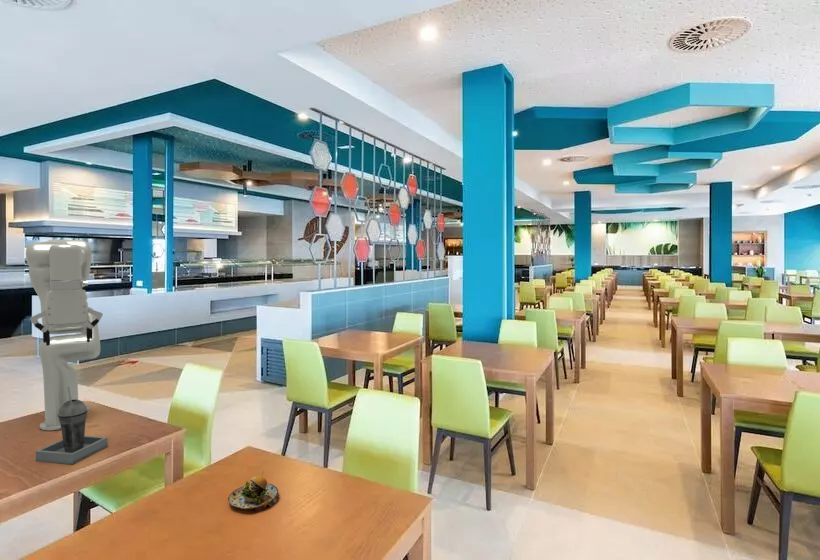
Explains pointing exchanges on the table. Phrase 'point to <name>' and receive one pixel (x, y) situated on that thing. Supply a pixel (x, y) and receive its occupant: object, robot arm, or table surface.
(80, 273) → the robot arm
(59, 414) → the beverage cup
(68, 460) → the tray
